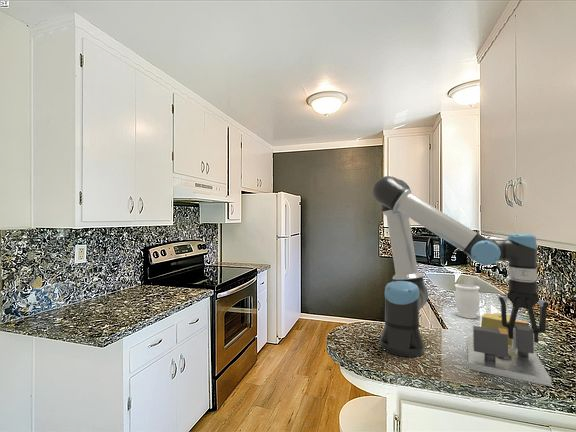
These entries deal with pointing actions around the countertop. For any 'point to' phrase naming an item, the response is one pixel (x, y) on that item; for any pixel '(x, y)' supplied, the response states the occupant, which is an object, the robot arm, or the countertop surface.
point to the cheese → (495, 322)
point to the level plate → (509, 365)
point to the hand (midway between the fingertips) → (522, 349)
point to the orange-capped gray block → (523, 338)
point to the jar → (467, 300)
